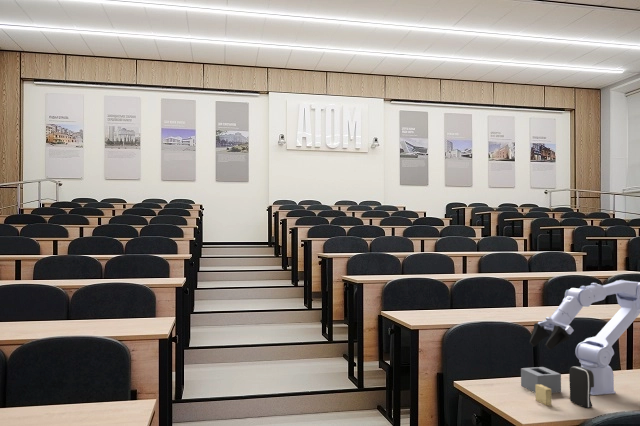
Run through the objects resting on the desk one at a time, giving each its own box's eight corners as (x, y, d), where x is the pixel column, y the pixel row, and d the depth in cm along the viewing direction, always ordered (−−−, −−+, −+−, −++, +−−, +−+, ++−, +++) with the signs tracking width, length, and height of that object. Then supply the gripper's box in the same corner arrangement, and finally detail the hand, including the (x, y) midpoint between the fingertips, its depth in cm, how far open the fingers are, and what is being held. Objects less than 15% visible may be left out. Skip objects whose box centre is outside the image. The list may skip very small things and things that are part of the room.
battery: (596, 407, 150) (595, 370, 151) (586, 408, 149) (586, 371, 150) (578, 400, 157) (577, 364, 158) (568, 401, 156) (568, 365, 156)
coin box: (543, 383, 174) (543, 366, 174) (561, 392, 165) (560, 374, 165) (521, 385, 172) (520, 368, 172) (537, 393, 163) (537, 375, 163)
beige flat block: (541, 399, 157) (540, 384, 158) (551, 405, 153) (551, 389, 153) (535, 400, 157) (535, 384, 157) (546, 405, 152) (545, 389, 152)
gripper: (540, 306, 169) (517, 334, 165) (572, 308, 155) (547, 339, 152) (553, 320, 170) (530, 349, 166) (585, 325, 156) (561, 356, 152)
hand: (539, 345), depth 159 cm, fingers open, 7 cm apart
